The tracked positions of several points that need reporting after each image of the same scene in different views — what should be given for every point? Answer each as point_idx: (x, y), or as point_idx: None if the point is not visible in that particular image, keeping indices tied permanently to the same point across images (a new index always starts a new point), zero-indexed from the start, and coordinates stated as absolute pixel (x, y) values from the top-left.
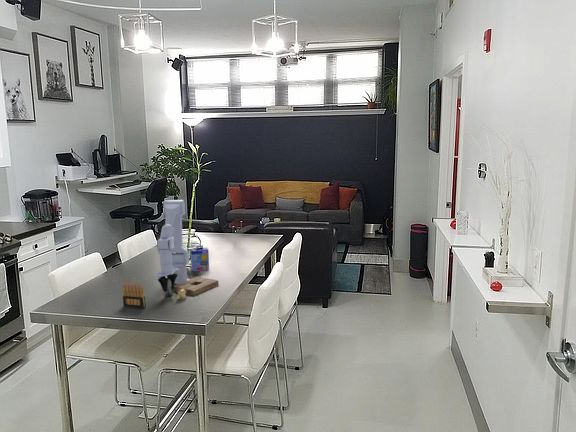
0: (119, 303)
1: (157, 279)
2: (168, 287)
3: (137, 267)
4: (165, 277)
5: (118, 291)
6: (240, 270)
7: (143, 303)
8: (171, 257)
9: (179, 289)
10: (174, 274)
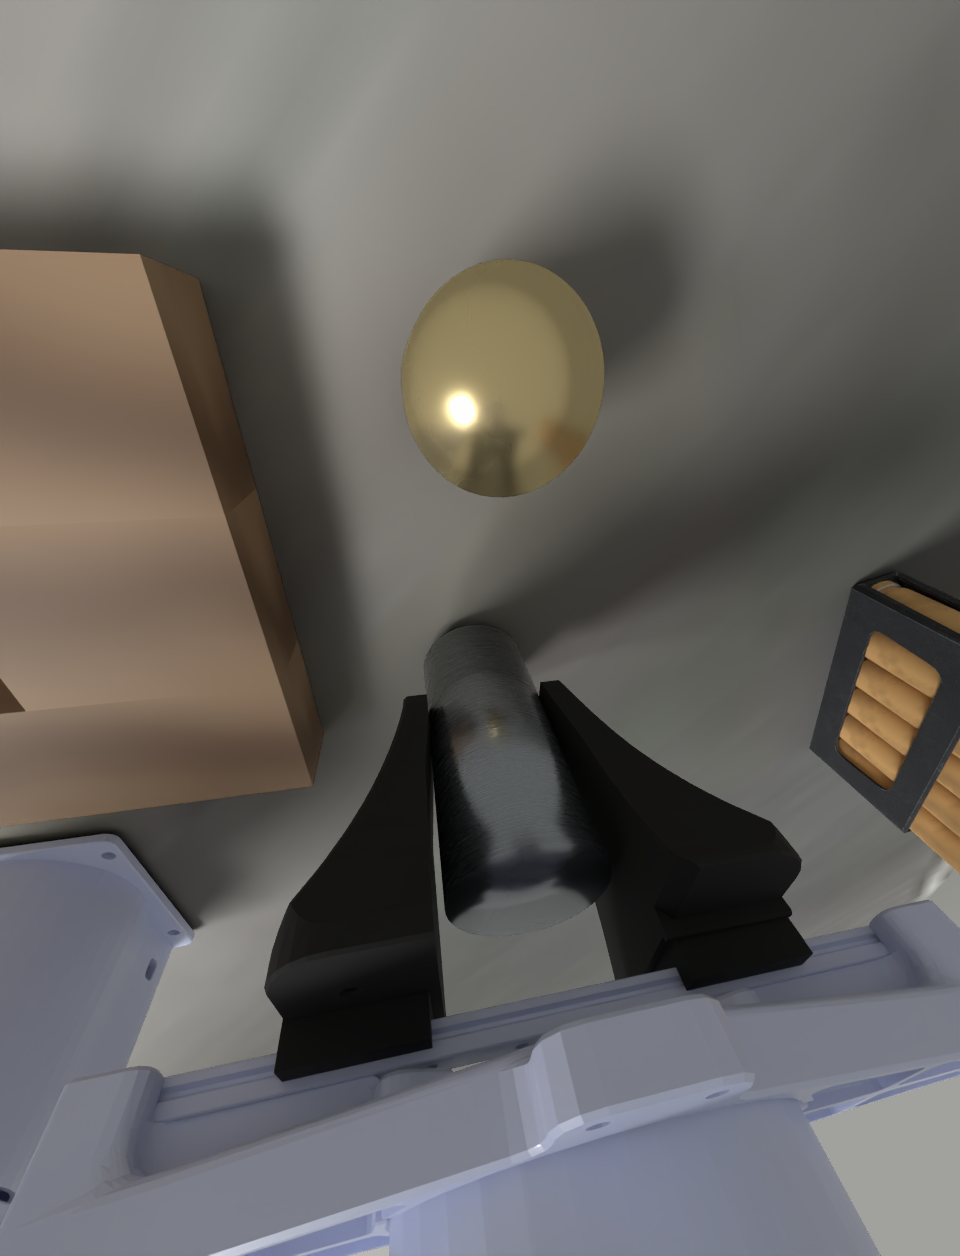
0: (779, 798)
1: (929, 907)
2: (535, 713)
3: None
4: (674, 930)
5: (572, 943)
6: None
7: (938, 602)
8: None
9: (512, 464)
10: (347, 988)
